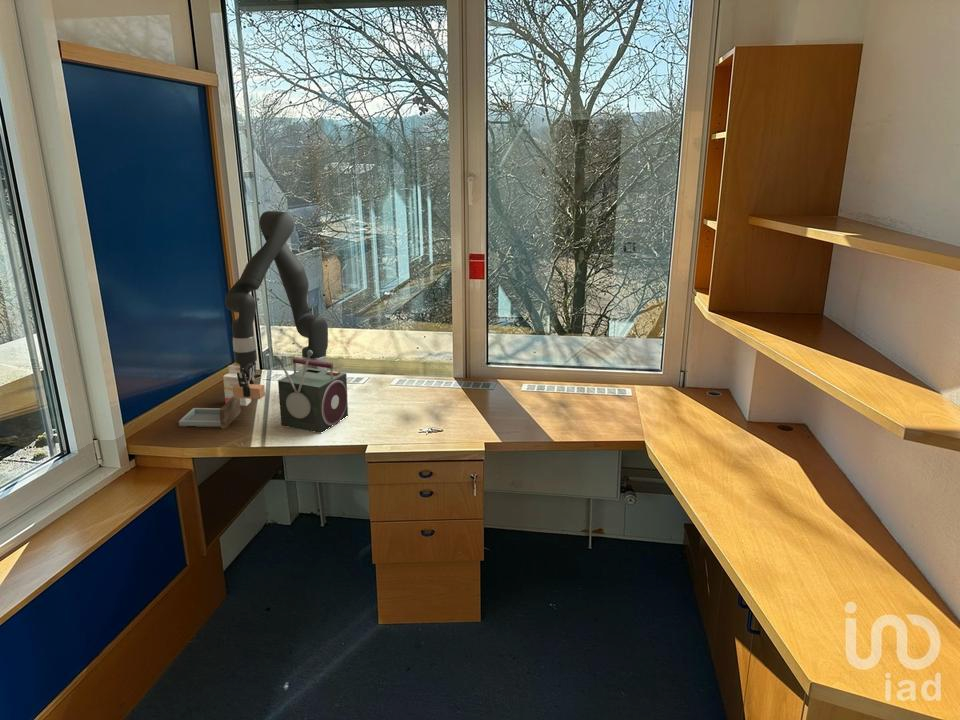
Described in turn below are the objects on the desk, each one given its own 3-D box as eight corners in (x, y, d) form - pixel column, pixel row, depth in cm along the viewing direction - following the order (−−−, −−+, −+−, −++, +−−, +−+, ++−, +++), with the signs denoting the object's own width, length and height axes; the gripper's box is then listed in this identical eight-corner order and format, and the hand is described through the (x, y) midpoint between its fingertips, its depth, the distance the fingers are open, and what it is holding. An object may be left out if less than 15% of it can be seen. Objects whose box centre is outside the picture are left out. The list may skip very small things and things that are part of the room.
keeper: (234, 413, 245) (234, 408, 245) (222, 427, 233) (221, 422, 232) (193, 412, 245) (193, 408, 245) (179, 426, 233) (178, 421, 232)
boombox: (351, 415, 246) (348, 338, 237) (319, 436, 228) (314, 352, 219) (310, 408, 252) (305, 332, 244) (275, 427, 234) (269, 346, 225)
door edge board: (240, 412, 247) (239, 394, 245) (225, 428, 232) (223, 410, 230) (236, 411, 247) (234, 394, 245) (221, 428, 232) (219, 410, 230)
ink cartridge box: (224, 405, 253) (221, 368, 249) (230, 400, 258) (227, 364, 254) (246, 406, 253) (243, 369, 248) (252, 401, 257) (249, 365, 253)
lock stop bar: (265, 395, 238) (264, 384, 237) (260, 399, 234) (259, 388, 233) (238, 393, 239) (237, 383, 238) (233, 397, 236) (232, 387, 234)
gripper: (249, 354, 225) (253, 401, 230) (261, 342, 238) (265, 387, 244) (226, 354, 225) (231, 401, 230) (240, 342, 238) (245, 387, 243)
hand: (249, 393), depth 237 cm, fingers closed on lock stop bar, 4 cm apart
